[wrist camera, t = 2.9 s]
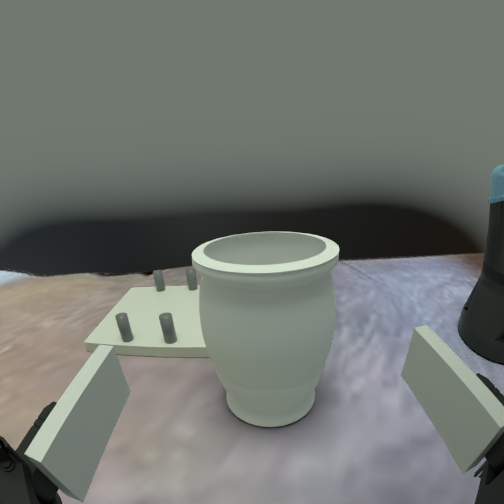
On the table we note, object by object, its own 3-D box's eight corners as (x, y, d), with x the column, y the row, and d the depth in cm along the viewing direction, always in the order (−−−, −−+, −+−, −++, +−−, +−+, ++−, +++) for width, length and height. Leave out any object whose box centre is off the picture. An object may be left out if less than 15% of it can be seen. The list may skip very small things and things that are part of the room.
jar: (341, 381, 25) (356, 236, 21) (291, 455, 17) (298, 283, 13) (256, 354, 31) (247, 226, 27) (194, 405, 23) (160, 255, 19)
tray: (231, 291, 49) (229, 264, 48) (223, 356, 31) (218, 320, 29) (133, 294, 49) (128, 270, 48) (87, 351, 31) (75, 319, 29)
